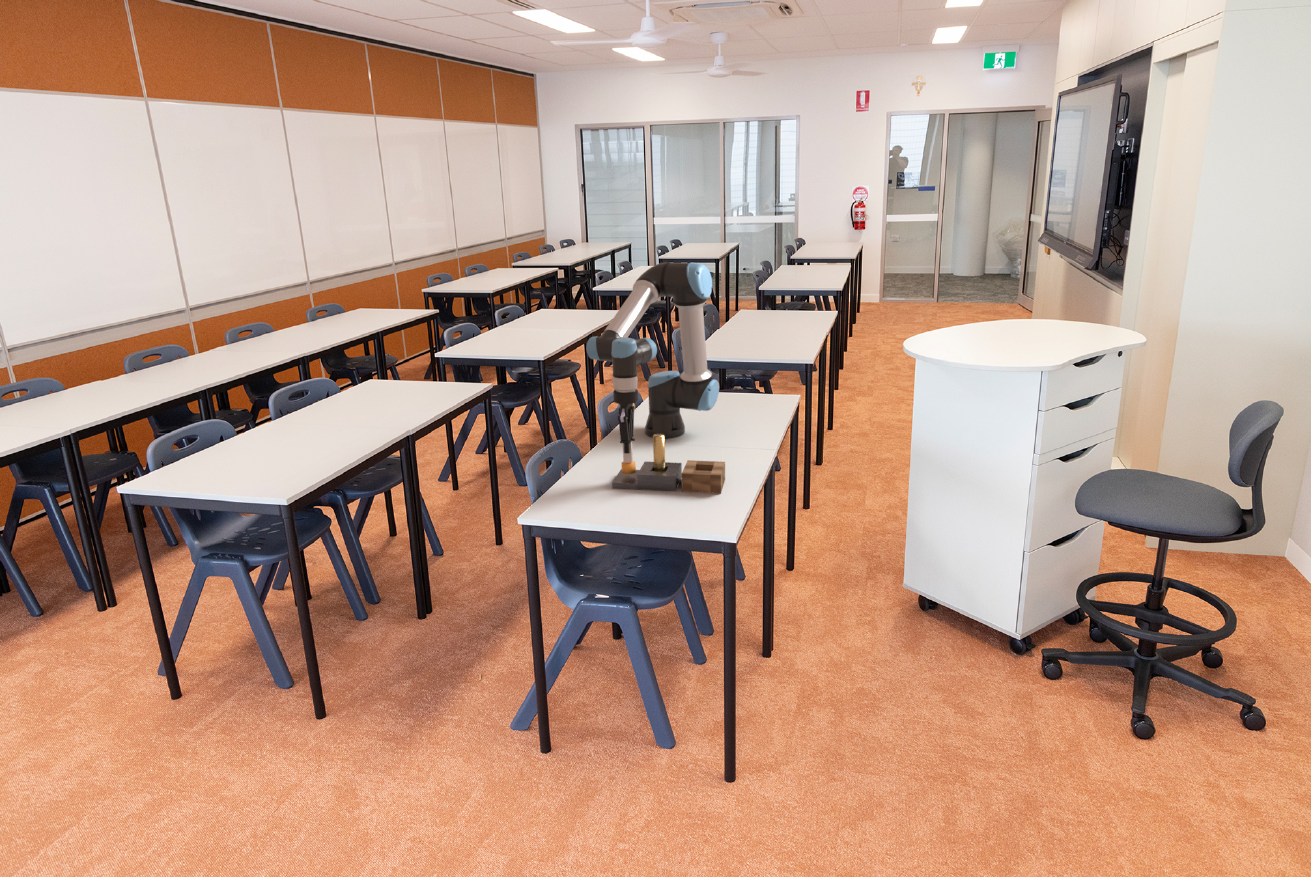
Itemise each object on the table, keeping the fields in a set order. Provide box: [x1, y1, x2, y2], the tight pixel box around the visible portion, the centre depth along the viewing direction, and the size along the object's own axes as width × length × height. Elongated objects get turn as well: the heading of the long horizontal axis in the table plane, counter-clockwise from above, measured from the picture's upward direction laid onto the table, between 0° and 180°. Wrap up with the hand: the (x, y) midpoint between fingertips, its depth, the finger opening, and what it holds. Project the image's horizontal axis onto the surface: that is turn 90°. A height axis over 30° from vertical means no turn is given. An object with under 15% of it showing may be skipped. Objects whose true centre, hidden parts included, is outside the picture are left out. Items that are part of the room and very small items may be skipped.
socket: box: [611, 461, 683, 492], centre depth 251 cm, size 12×20×5 cm, turn 79°
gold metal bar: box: [652, 434, 666, 472], centre depth 249 cm, size 4×4×16 cm
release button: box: [621, 460, 637, 474], centre depth 251 cm, size 4×4×3 cm
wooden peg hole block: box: [681, 459, 726, 495], centre depth 247 cm, size 12×12×6 cm
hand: (628, 461), depth 251 cm, fingers closed
